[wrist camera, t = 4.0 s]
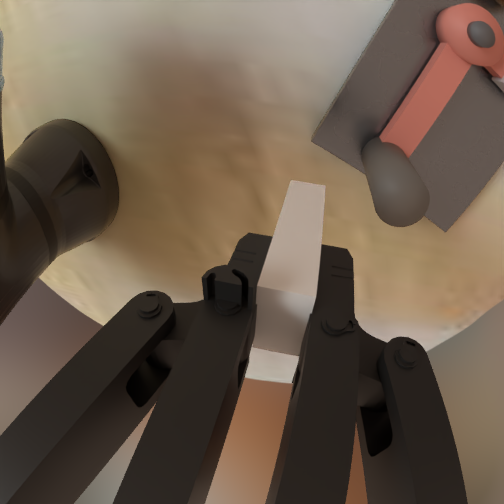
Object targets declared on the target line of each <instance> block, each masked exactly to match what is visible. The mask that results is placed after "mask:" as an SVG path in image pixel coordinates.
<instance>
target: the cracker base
mask: <svg viewBox="0 0 504 504" xmlns="http://www.w3.org/2000/svg"><path fill="white" fill-rule="evenodd" d="M463 3H472V4H476V5H479V6H481V7H483V8H484V9H486V10H487V11H488V12H489V13H490V14H491V15H492V16H493V17H494V18H495V19H496V21H497V22H498V24H499V25H500V27H501V30H502V32H503V35H504V0H395V1H394V3H393V4H392V6H391V8H390V9H389V11H388V13H387V14H386V16H385V17H384V19H383V21H382V22H381V24H380V25H379V27H378V29H377V30H376V32H375V34H374V35H373V37H372V38H371V40H370V42H369V43H368V45H367V47H366V48H365V50H364V51H363V53H362V55H361V56H360V58H359V60H358V61H357V63H356V65H355V66H354V68H353V69H352V71H351V73H350V74H349V76H348V78H347V79H346V81H345V83H344V84H343V86H342V87H341V89H340V91H339V92H338V94H337V96H336V97H335V99H334V101H333V102H332V104H331V106H330V107H329V109H328V111H327V112H326V114H325V116H324V117H323V119H322V120H321V122H320V124H319V125H318V127H317V129H316V130H315V132H314V134H313V135H312V140H311V142H313V143H315V144H316V145H318V146H320V147H322V148H323V149H325V150H327V151H328V152H330V153H332V154H333V155H335V156H337V157H338V158H340V159H342V160H343V161H345V162H347V163H348V164H350V165H351V166H353V167H355V168H356V169H358V170H359V171H361V172H362V173H364V174H366V173H365V169H364V166H363V163H362V151H363V148H364V146H365V145H366V144H367V143H368V142H369V141H370V140H372V139H374V138H376V137H379V136H380V135H381V133H382V132H383V130H384V129H385V128H386V126H387V125H388V123H389V122H390V120H391V119H392V117H393V116H394V114H395V113H396V111H397V110H398V108H399V107H400V105H401V104H402V102H403V101H404V99H405V98H406V96H407V95H408V93H409V91H410V90H411V88H412V87H413V85H414V84H415V82H416V81H417V79H418V78H419V76H420V74H421V73H422V71H423V70H424V68H425V67H426V65H427V63H428V62H429V60H430V59H431V57H432V56H433V54H434V52H435V51H436V49H437V48H438V46H439V44H440V42H439V40H438V37H437V33H436V20H437V17H438V15H439V13H440V12H441V11H442V10H444V9H446V8H448V7H452V6H455V5H459V4H463ZM492 77H493V76H492V75H491V74H490V73H489V72H488V70H487V69H486V68H485V67H484V66H479V65H474V64H472V65H471V67H470V68H469V70H468V71H467V73H466V75H465V76H464V78H463V79H462V81H461V83H460V84H459V86H458V87H457V89H456V90H455V92H454V93H453V95H452V96H451V98H450V99H449V101H448V102H447V104H446V105H445V107H444V108H443V110H442V111H441V113H440V114H439V116H438V117H437V119H436V120H435V122H434V123H433V125H432V126H431V127H430V129H429V130H428V132H427V133H426V135H425V136H424V137H423V139H422V140H421V142H420V143H419V144H418V146H417V147H416V149H415V150H414V151H413V153H412V154H411V155H410V157H409V158H408V159H409V160H410V162H411V163H412V165H413V166H414V168H415V169H416V171H417V172H418V174H419V175H420V177H421V179H422V180H423V182H424V183H425V185H426V186H427V188H428V191H429V195H430V202H429V207H428V209H427V211H426V213H425V215H424V216H425V217H427V218H428V219H429V220H431V221H432V222H433V223H434V224H436V225H437V226H438V227H439V228H441V229H442V230H443V231H444V232H446V231H447V230H448V229H449V228H450V227H451V226H452V225H453V223H454V222H455V221H456V220H457V219H458V218H459V217H460V215H461V214H462V213H463V212H464V211H465V210H466V208H467V207H468V206H469V205H470V204H471V202H472V201H473V200H474V199H475V197H476V196H477V195H478V194H479V193H480V191H481V190H482V189H483V188H484V186H485V185H486V184H487V182H488V181H489V180H490V179H491V177H492V176H493V175H494V173H495V172H496V171H497V169H498V168H499V167H500V165H501V164H502V162H503V161H504V92H503V91H502V90H501V89H500V88H499V87H498V85H497V84H496V83H495V82H494V81H493V80H492Z"/></svg>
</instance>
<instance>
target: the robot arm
mask: <svg viewBox="0 0 504 504" xmlns="http://www.w3.org/2000/svg"><path fill="white" fill-rule="evenodd" d="M2 58H3V33H2V31H1V29H0V325H1V324H2V323H3V321H4V320H5V319H6V317H7V316H8V315H9V313H10V312H11V310H12V309H13V308H14V307H15V305H16V304H17V303H18V301H19V300H20V299H21V298H22V297H23V295H24V294H25V293H26V292H27V290H28V289H29V288H30V287H31V286H32V284H33V283H34V282H35V281H36V280H37V279H38V277H39V276H40V275H41V274H42V273H43V272H44V271H45V270H46V268H47V267H48V266H49V265H50V264H51V263H52V262H53V261H54V260H55V259H56V258H57V257H58V256H59V255H61V254H63V253H65V252H67V251H70V250H72V249H74V248H76V247H78V246H80V245H81V244H83V243H85V242H88V241H91V240H93V239H95V238H96V237H98V236H99V235H100V234H101V233H102V232H103V231H104V230H105V229H106V228H107V227H108V226H109V225H110V223H111V222H112V221H113V219H114V217H115V215H116V212H117V208H118V200H119V192H118V184H117V179H116V175H115V171H114V169H113V166H112V163H111V161H110V159H109V157H108V155H107V153H106V151H105V150H104V148H103V147H102V145H101V144H100V142H99V141H98V140H97V139H96V138H95V137H94V135H93V134H92V133H90V132H89V131H88V130H87V129H86V128H84V127H83V126H81V125H80V124H78V123H76V122H73V121H70V120H66V119H57V120H53V121H50V122H48V123H46V124H44V125H42V126H40V127H38V128H36V129H35V130H33V131H32V132H31V133H30V134H29V135H28V136H27V137H26V139H25V140H24V142H23V143H22V145H21V146H20V147H19V148H18V149H17V150H16V151H15V152H14V153H13V154H12V155H11V156H10V157H9V158H8V159H7V161H6V162H5V160H4V150H3V136H2V90H3V86H4V77H3V76H2ZM325 187H326V186H325V185H319V184H313V183H307V182H301V181H295V180H291V181H290V184H289V187H288V191H287V194H286V197H285V200H284V203H283V206H282V210H281V213H280V216H279V219H278V222H277V225H276V229H275V232H274V235H273V237H271V236H265V235H259V234H253V233H248V234H247V235H245V236H244V237H243V238H241V239H240V240H239V242H238V244H237V246H236V248H235V251H234V253H233V255H232V257H231V259H230V261H229V263H228V265H222V266H217V267H214V268H212V269H210V270H208V271H207V272H206V273H205V274H204V275H203V276H202V285H203V295H204V300H201V301H198V302H191V303H173V302H172V300H171V298H170V297H169V296H168V295H166V294H165V293H163V292H159V291H146V292H143V293H140V294H138V295H137V296H135V297H134V298H132V299H131V300H130V301H129V302H128V303H127V304H126V305H125V306H124V307H123V308H122V309H121V310H120V311H119V312H118V313H117V314H116V315H115V316H114V317H113V318H112V319H111V320H109V321H108V322H107V323H106V324H105V325H104V326H103V327H102V328H101V329H100V330H99V331H98V332H97V333H96V334H95V335H94V336H93V337H92V338H91V339H90V341H88V342H87V343H86V344H85V346H83V347H82V348H81V349H80V350H79V351H78V352H77V353H76V354H75V356H74V357H73V358H72V359H71V360H70V361H69V362H68V363H67V364H66V365H65V366H64V367H63V368H62V369H61V370H60V371H59V372H58V373H57V374H56V375H55V376H54V377H53V378H52V380H50V382H49V383H48V384H47V385H46V386H45V387H44V388H43V389H42V390H41V391H40V392H39V393H38V394H37V396H36V397H35V398H34V399H33V400H32V401H31V402H30V403H29V404H28V405H27V406H26V408H25V409H24V410H23V411H22V412H21V413H20V414H19V415H18V416H17V418H16V419H15V420H14V421H13V422H12V423H11V424H10V426H9V427H8V428H7V429H6V430H5V431H4V432H3V434H2V435H1V436H0V504H74V502H75V501H76V500H77V499H78V498H79V497H80V495H81V494H82V493H83V492H84V491H85V489H86V488H87V487H88V486H89V485H90V483H91V482H92V481H93V480H94V478H95V477H96V476H97V475H98V474H99V472H100V471H101V470H102V469H103V467H104V466H105V465H106V464H107V463H108V461H109V460H110V459H111V458H112V457H113V455H114V454H115V453H116V452H117V450H118V449H119V448H120V447H121V445H122V444H123V443H124V442H125V440H126V439H127V438H128V437H129V436H130V434H131V433H132V432H133V431H134V429H135V428H136V427H137V426H138V424H139V423H140V422H141V421H142V419H143V418H144V417H145V416H146V414H147V413H148V412H149V411H150V409H151V408H152V407H153V406H154V404H155V403H156V405H155V407H154V409H153V411H152V414H151V416H150V418H149V420H148V423H147V425H146V427H145V429H144V432H143V434H142V436H141V439H140V441H139V443H138V445H137V448H136V450H135V453H134V455H133V457H132V459H131V462H130V464H129V466H128V469H127V471H126V473H125V476H124V478H123V480H122V483H121V486H120V487H119V490H118V492H117V495H116V497H115V499H114V502H113V504H204V503H205V501H206V498H207V495H208V492H209V489H210V486H211V483H212V480H213V477H214V474H215V471H216V468H217V465H218V461H219V458H220V455H221V452H222V449H223V446H224V443H225V439H226V436H227V433H228V430H229V427H230V423H231V420H232V417H233V414H234V410H235V407H236V404H237V400H238V397H239V394H240V391H241V387H242V384H243V380H244V377H245V374H246V371H247V367H248V364H249V354H250V350H251V347H252V344H253V347H255V348H260V349H264V350H269V351H274V352H279V353H285V354H290V355H296V356H299V361H298V365H297V368H296V371H295V374H294V377H293V381H292V383H293V387H292V392H291V397H290V402H289V407H288V412H287V416H286V421H285V425H284V430H283V434H282V439H281V443H280V448H279V452H278V456H277V460H276V464H275V469H274V472H273V476H272V480H271V484H270V488H269V492H268V496H267V499H266V503H265V504H345V502H346V496H347V490H348V484H349V477H350V469H351V462H352V454H353V445H354V435H355V424H357V430H358V436H359V442H360V448H361V455H362V462H363V468H364V476H365V484H366V492H367V499H368V504H468V503H467V497H466V491H465V485H464V480H463V476H462V471H461V466H460V461H459V457H458V453H457V448H456V445H455V441H454V437H453V433H452V430H451V426H450V422H449V419H448V415H447V412H446V409H445V405H444V402H443V399H442V396H441V393H440V390H439V387H438V384H437V381H436V378H435V375H434V372H433V369H432V367H431V364H430V361H429V358H428V355H427V353H426V352H425V350H424V348H423V347H422V346H421V345H420V344H419V343H418V342H417V341H415V340H413V339H411V338H409V337H396V338H393V339H391V340H390V341H389V342H388V343H386V342H384V341H382V340H380V339H377V338H375V337H373V336H371V335H369V334H368V333H366V332H365V331H364V330H363V329H362V328H361V327H360V326H359V324H358V321H357V320H356V318H355V314H354V280H353V279H354V272H353V258H352V256H351V255H350V253H349V251H348V250H347V249H345V248H339V247H334V246H328V245H322V244H321V243H322V231H323V218H324V204H325Z"/></svg>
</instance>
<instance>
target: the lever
mask: <svg viewBox="0 0 504 504" xmlns="http://www.w3.org/2000/svg"><path fill="white" fill-rule="evenodd" d="M436 33H437V37H438V40H439V42H440V44H439V46H438V48H437V49H436V51H435V52H434V54H433V56H432V57H431V59H430V60H429V62H428V63H427V65H426V67H425V68H424V70H423V71H422V73H421V74H420V76H419V78H418V79H417V81H416V82H415V84H414V85H413V87H412V88H411V90H410V91H409V93H408V95H407V96H406V98H405V99H404V101H403V102H402V104H401V105H400V107H399V108H398V110H397V111H396V113H395V114H394V116H393V117H392V119H391V120H390V122H389V123H388V125H387V126H386V128H385V129H384V130H383V132H382V133H381V135H380V136H379V137H376V138H374V139H372V140H370V141H369V142H368V143H367V144H366V145H365V146H364V148H363V151H362V163H363V166H364V169H365V173H366V176H367V180H368V184H369V187H370V191H371V195H372V199H373V203H374V207H375V210H376V213H377V215H378V216H379V217H380V219H381V220H382V221H384V222H385V223H387V224H389V225H391V226H395V227H405V226H409V225H412V224H414V223H416V222H418V221H419V220H420V219H421V218H422V217H423V216H424V215H425V213H426V211H427V209H428V207H429V202H430V195H429V191H428V188H427V186H426V185H425V183H424V182H423V180H422V179H421V177H420V175H419V174H418V172H417V171H416V169H415V168H414V166H413V165H412V163H411V162H410V160H409V159H408V158H409V157H410V155H411V154H412V153H413V151H414V150H415V149H416V147H417V146H418V144H419V143H420V142H421V140H422V139H423V137H424V136H425V135H426V133H427V132H428V130H429V129H430V127H431V126H432V125H433V123H434V122H435V120H436V119H437V117H438V116H439V114H440V113H441V111H442V110H443V108H444V107H445V105H446V104H447V102H448V101H449V99H450V98H451V96H452V95H453V93H454V92H455V90H456V89H457V87H458V86H459V84H460V83H461V81H462V79H463V78H464V76H465V75H466V73H467V71H468V70H469V68H470V67H471V65H472V64H474V65H479V66H484V67H485V68H486V69H487V70H488V72H489V73H490V74H491V75H492V76H493V77H492V80H493V81H494V82H495V83H496V84H497V85H498V87H499V88H500V89H501V90H502V91H503V92H504V35H503V32H502V30H501V27H500V25H499V24H498V22H497V21H496V19H495V18H494V17H493V16H492V15H491V14H490V13H489V12H488V11H487V10H486V9H484V8H483V7H481V6H479V5H476V4H472V3H463V4H459V5H455V6H452V7H448V8H446V9H444V10H442V11H441V12H440V13H439V15H438V17H437V20H436Z"/></svg>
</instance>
